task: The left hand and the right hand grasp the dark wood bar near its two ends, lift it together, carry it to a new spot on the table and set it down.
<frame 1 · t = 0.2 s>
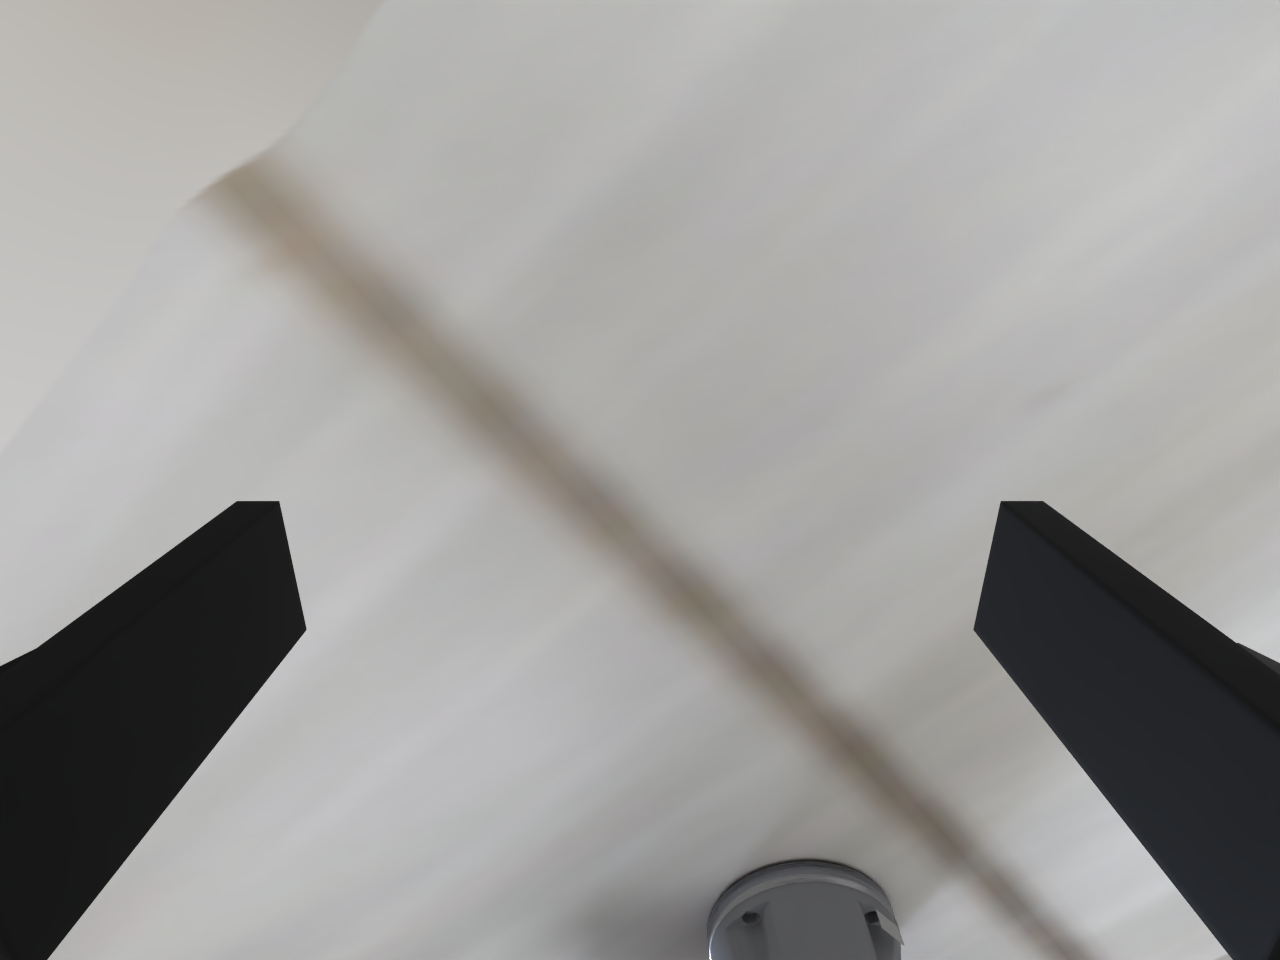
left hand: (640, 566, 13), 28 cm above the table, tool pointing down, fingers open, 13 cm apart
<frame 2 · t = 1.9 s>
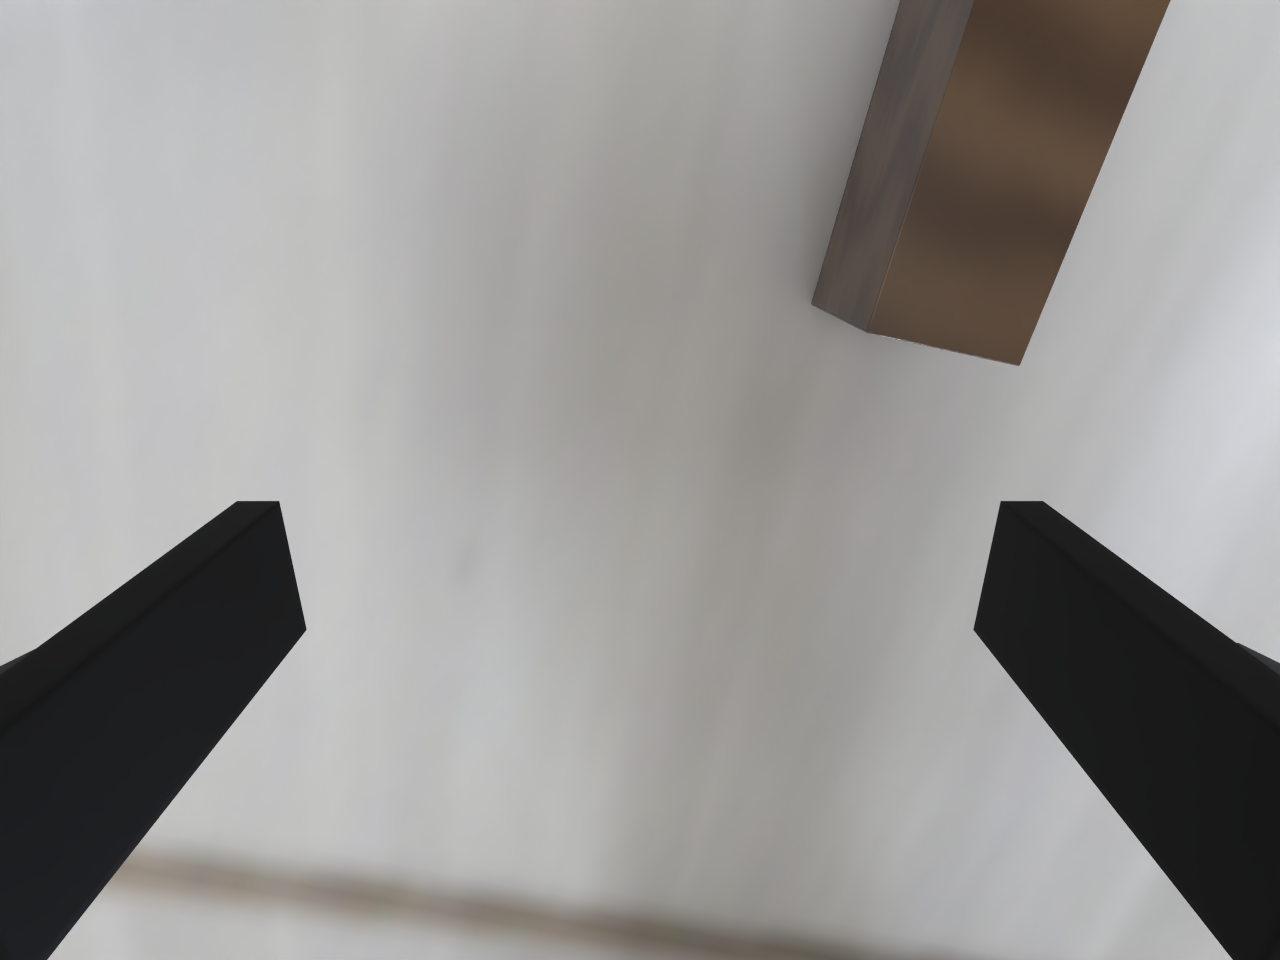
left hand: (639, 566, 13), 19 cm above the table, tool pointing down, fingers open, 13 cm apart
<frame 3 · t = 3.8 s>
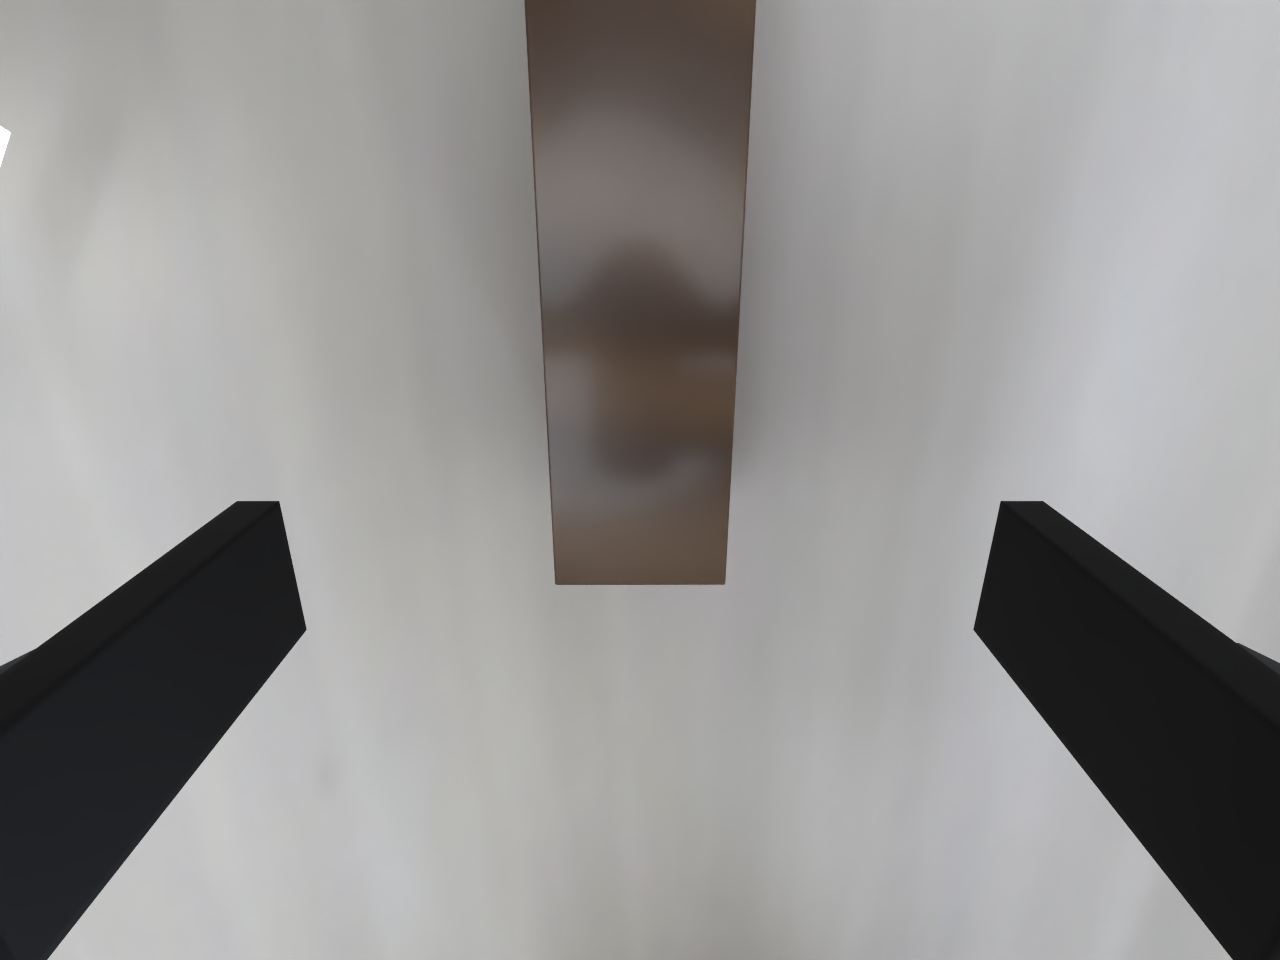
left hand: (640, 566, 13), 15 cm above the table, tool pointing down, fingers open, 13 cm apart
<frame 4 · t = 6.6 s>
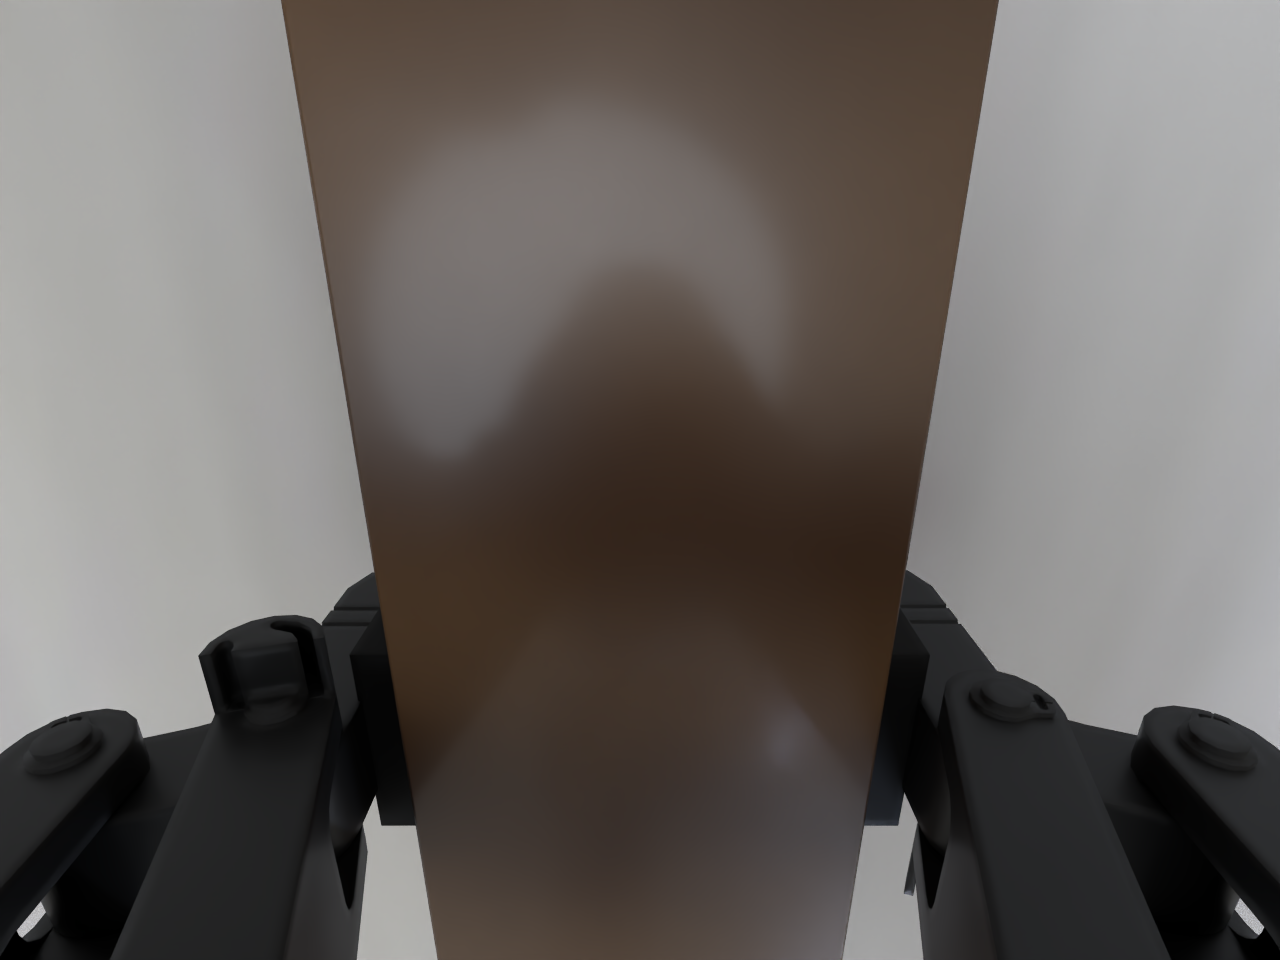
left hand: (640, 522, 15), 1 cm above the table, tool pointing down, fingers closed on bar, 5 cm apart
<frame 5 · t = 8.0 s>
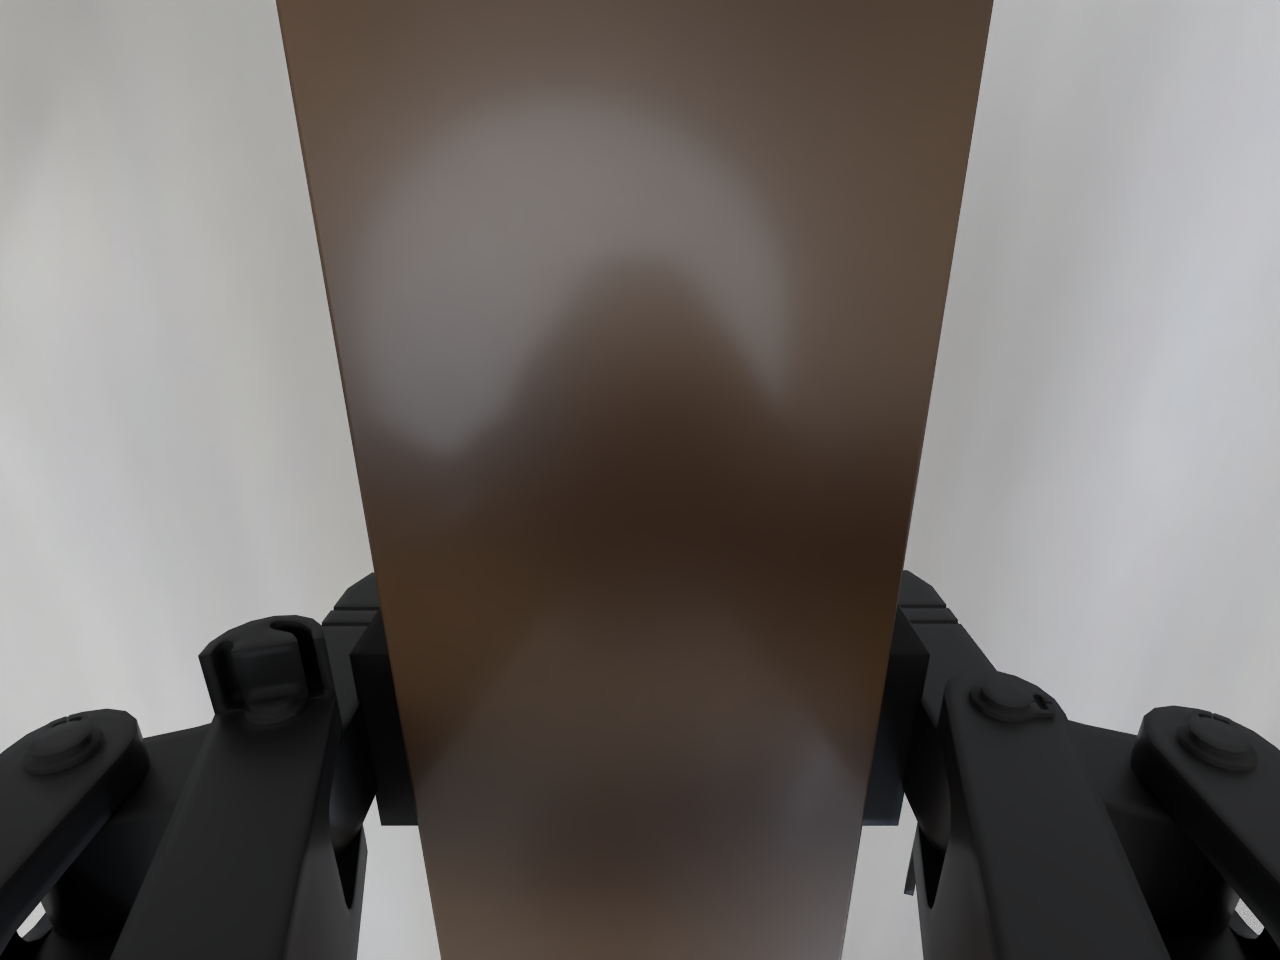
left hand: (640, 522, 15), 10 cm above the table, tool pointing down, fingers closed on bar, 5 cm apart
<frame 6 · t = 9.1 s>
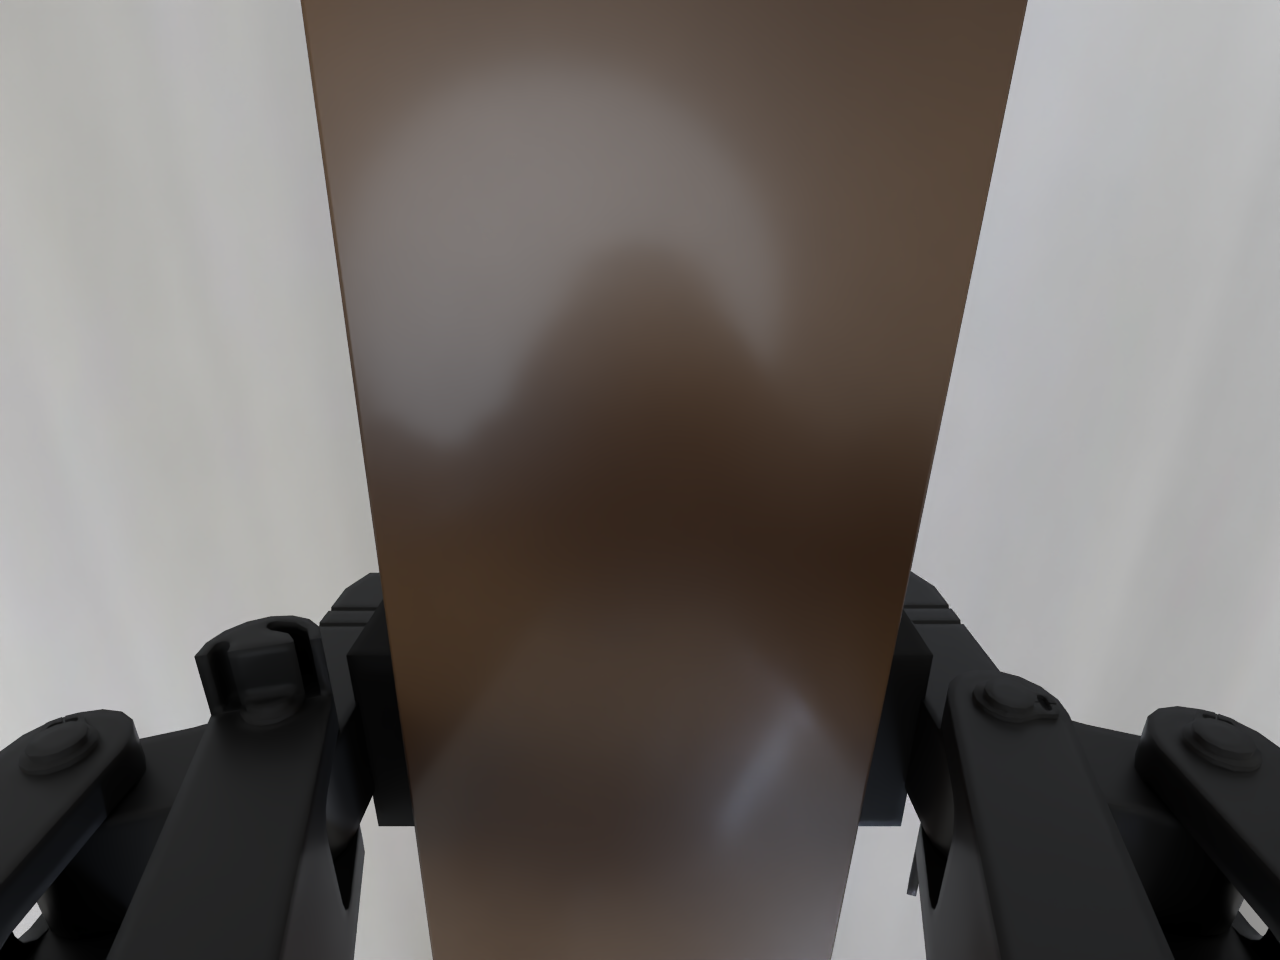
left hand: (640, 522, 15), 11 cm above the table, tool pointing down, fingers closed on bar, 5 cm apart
when the left hand's fingers open (1 cm above the table, at t = 11.9 s): bar stays where it is, on the table.
when the right hand's fingers open (4 cm above the table, at t = 12.1 s): bar stays where it is, on the table.
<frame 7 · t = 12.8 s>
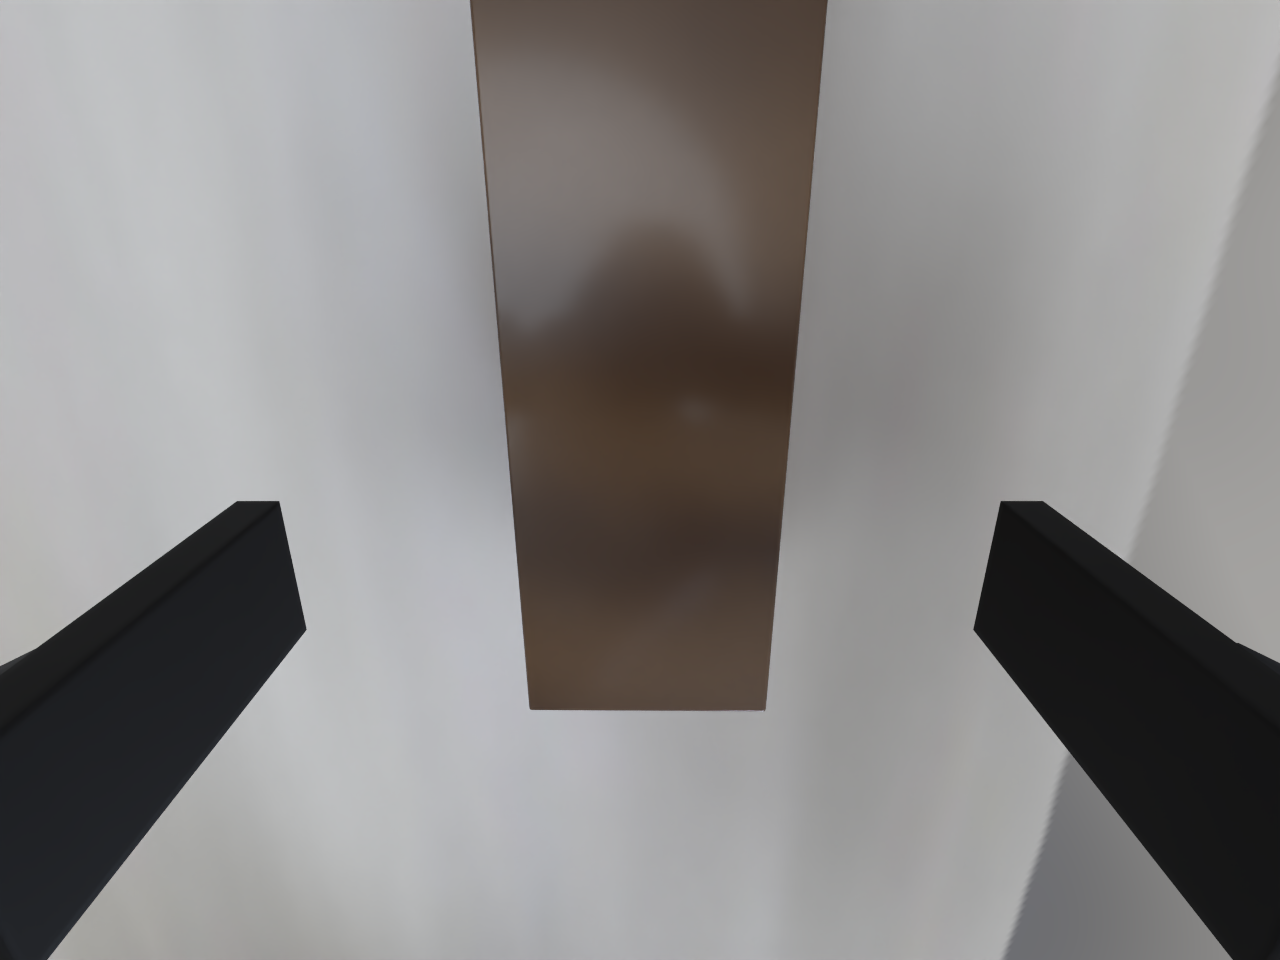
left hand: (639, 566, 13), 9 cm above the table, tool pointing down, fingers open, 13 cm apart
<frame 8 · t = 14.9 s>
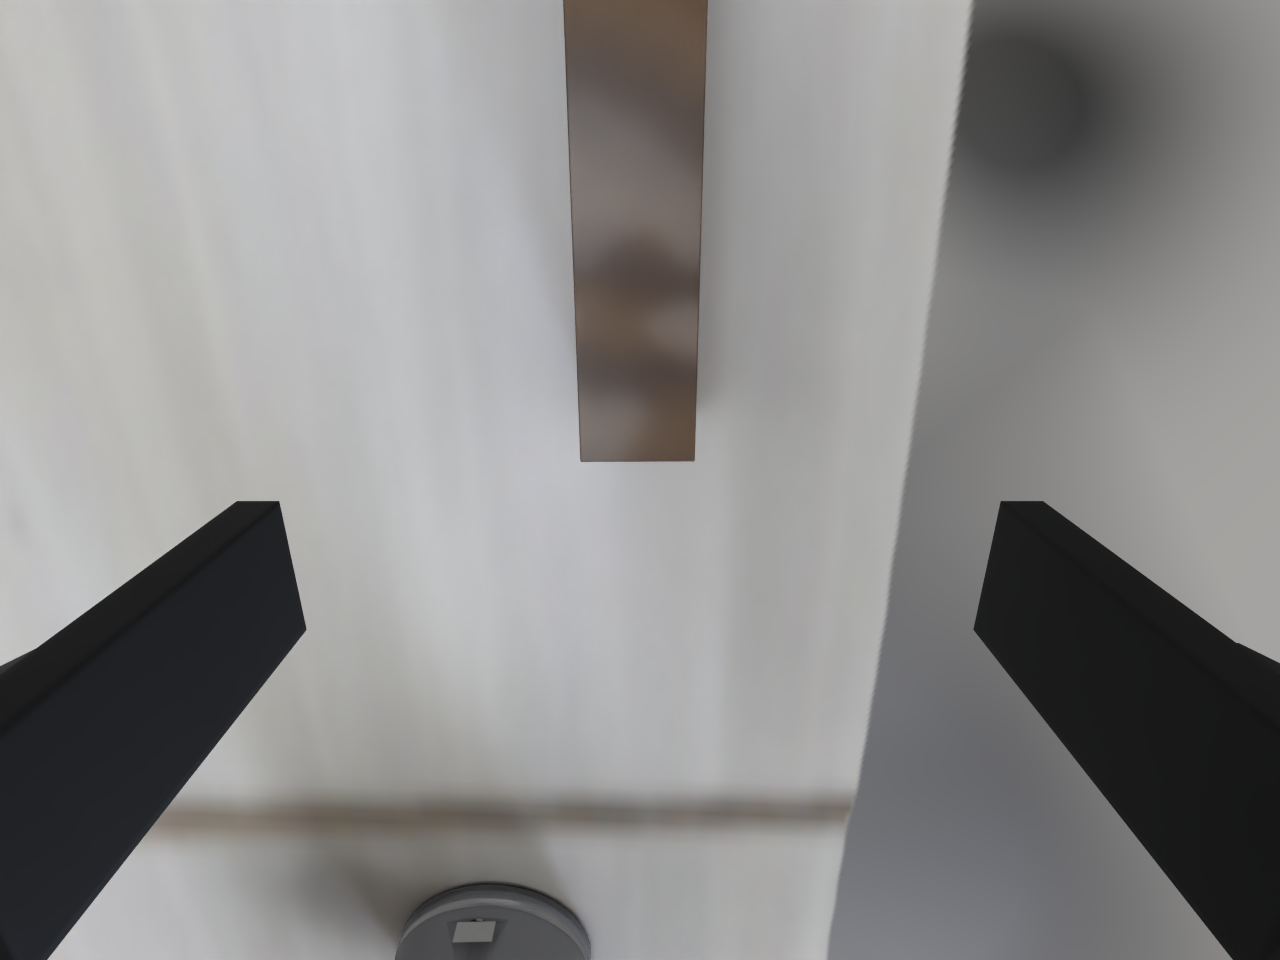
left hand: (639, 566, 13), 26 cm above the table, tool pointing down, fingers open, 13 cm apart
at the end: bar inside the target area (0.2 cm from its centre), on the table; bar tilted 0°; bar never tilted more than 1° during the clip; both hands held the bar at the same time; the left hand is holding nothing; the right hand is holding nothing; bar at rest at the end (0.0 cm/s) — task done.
